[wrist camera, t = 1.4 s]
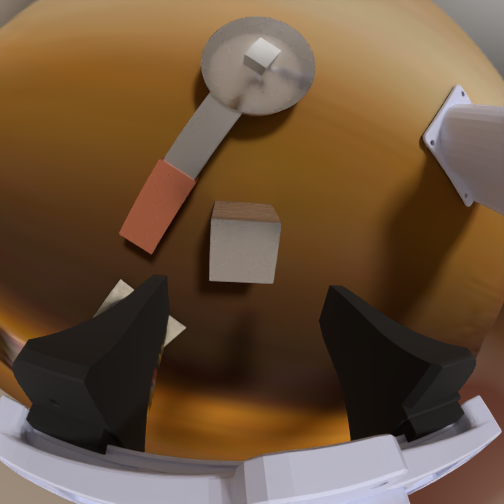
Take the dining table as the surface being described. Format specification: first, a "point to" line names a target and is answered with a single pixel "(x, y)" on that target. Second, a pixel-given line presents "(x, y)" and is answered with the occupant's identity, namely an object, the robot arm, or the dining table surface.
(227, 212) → the brushed metal cube
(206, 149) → the metal scoop
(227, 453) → the dining table surface
